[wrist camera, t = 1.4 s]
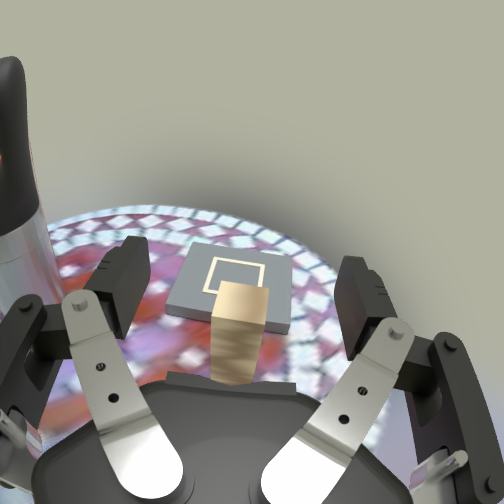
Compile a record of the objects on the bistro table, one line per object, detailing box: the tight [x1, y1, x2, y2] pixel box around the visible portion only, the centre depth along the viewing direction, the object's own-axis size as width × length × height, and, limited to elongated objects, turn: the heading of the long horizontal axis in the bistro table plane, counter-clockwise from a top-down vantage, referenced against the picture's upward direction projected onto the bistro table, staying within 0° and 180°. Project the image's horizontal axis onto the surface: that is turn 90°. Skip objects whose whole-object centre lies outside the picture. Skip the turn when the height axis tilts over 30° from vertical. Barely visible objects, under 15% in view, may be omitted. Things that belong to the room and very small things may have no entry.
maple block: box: [210, 281, 269, 385], centre depth 32 cm, size 4×4×12 cm
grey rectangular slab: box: [166, 242, 292, 334], centre depth 46 cm, size 16×14×2 cm
